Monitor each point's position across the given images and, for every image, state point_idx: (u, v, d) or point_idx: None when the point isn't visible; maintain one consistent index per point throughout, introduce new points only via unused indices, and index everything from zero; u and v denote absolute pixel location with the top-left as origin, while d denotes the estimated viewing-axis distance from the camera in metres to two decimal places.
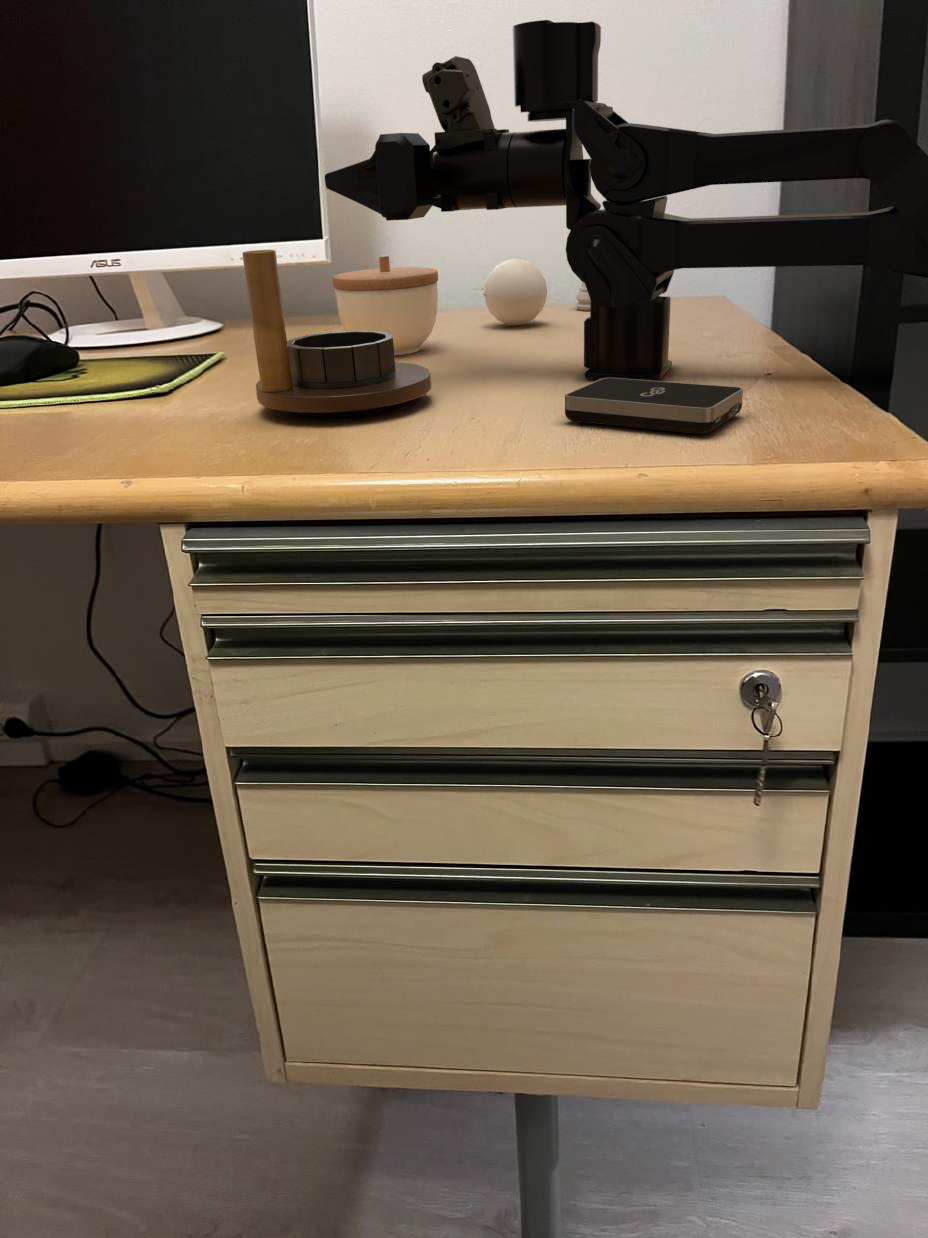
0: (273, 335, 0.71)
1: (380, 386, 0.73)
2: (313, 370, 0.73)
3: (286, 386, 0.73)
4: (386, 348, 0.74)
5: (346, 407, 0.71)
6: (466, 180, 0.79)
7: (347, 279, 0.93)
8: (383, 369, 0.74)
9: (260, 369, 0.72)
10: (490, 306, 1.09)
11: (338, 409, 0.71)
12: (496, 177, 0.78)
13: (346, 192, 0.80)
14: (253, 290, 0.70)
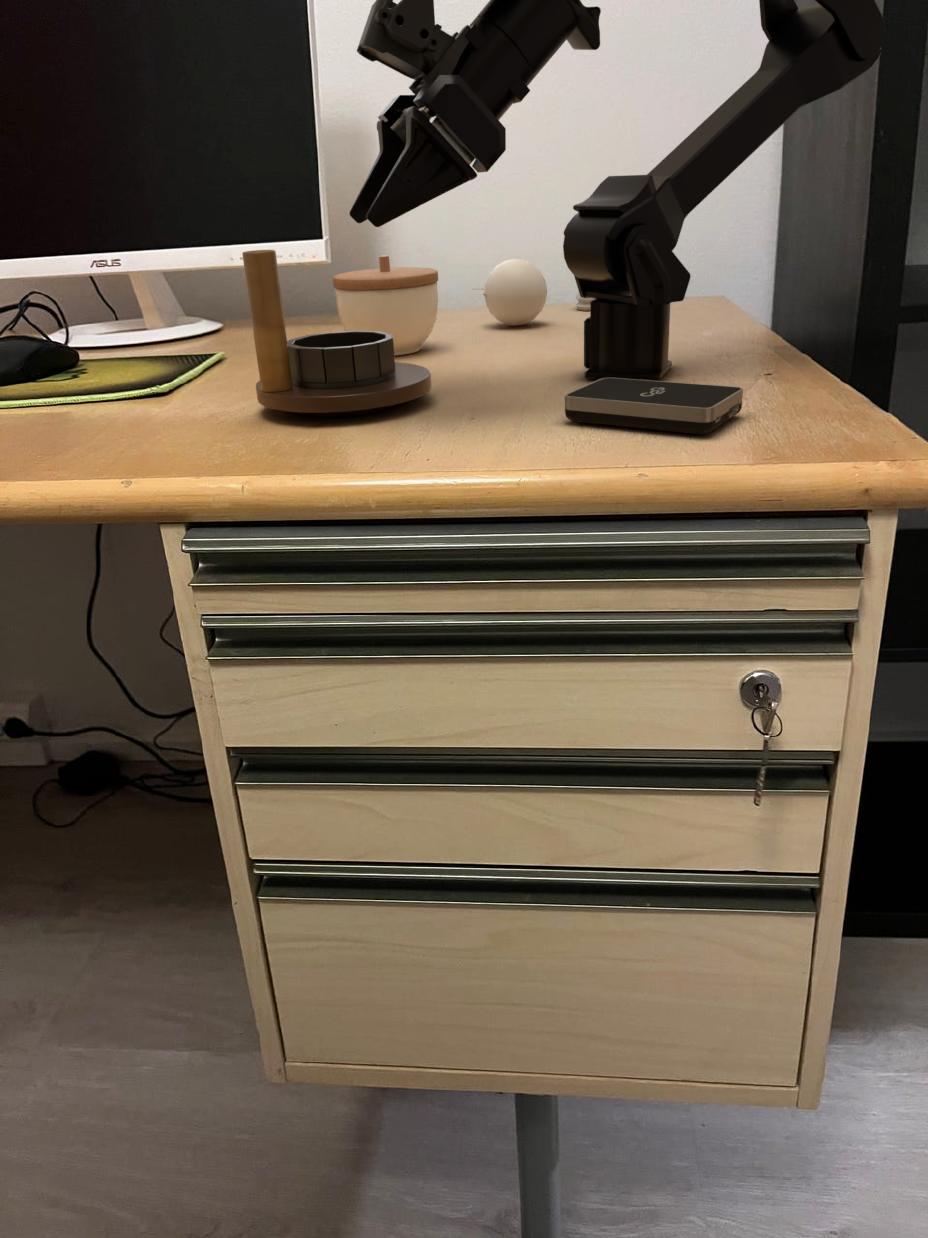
0: (273, 335, 0.71)
1: (380, 386, 0.73)
2: (313, 370, 0.73)
3: (286, 386, 0.73)
4: (386, 348, 0.74)
5: (346, 407, 0.71)
6: (485, 93, 0.67)
7: (347, 279, 0.93)
8: (383, 369, 0.74)
9: (260, 369, 0.72)
10: (490, 306, 1.09)
11: (338, 409, 0.71)
12: (510, 61, 0.67)
13: (404, 207, 0.66)
14: (253, 290, 0.70)
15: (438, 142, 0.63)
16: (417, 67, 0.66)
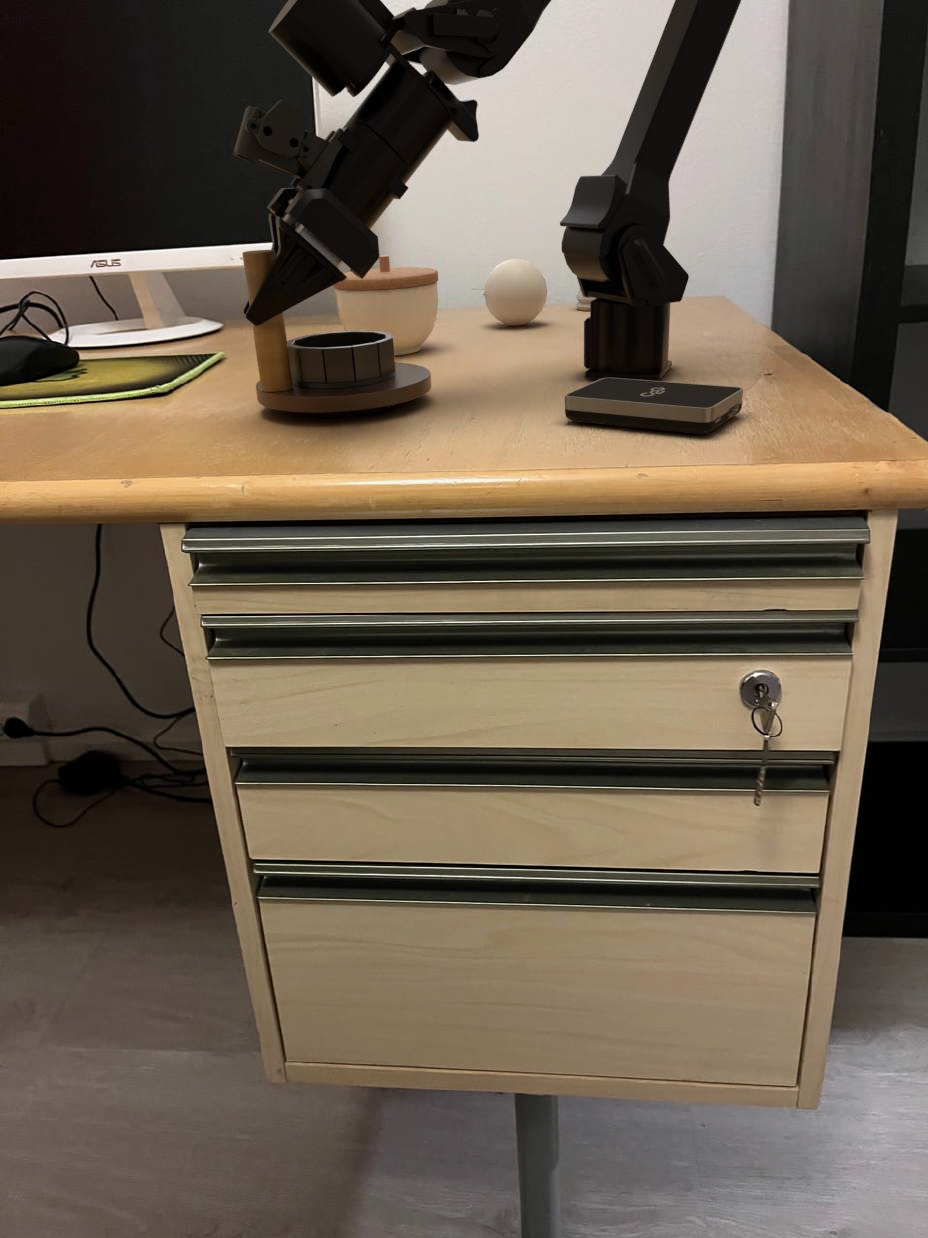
0: (273, 335, 0.71)
1: (380, 386, 0.73)
2: (313, 370, 0.73)
3: (286, 386, 0.73)
4: (386, 348, 0.74)
5: (346, 407, 0.71)
6: (362, 193, 0.67)
7: (347, 279, 0.93)
8: (383, 369, 0.74)
9: (260, 369, 0.72)
10: (490, 306, 1.09)
11: (338, 409, 0.71)
12: (385, 161, 0.67)
13: (281, 306, 0.69)
14: (253, 290, 0.70)
15: (306, 249, 0.66)
16: (291, 172, 0.66)
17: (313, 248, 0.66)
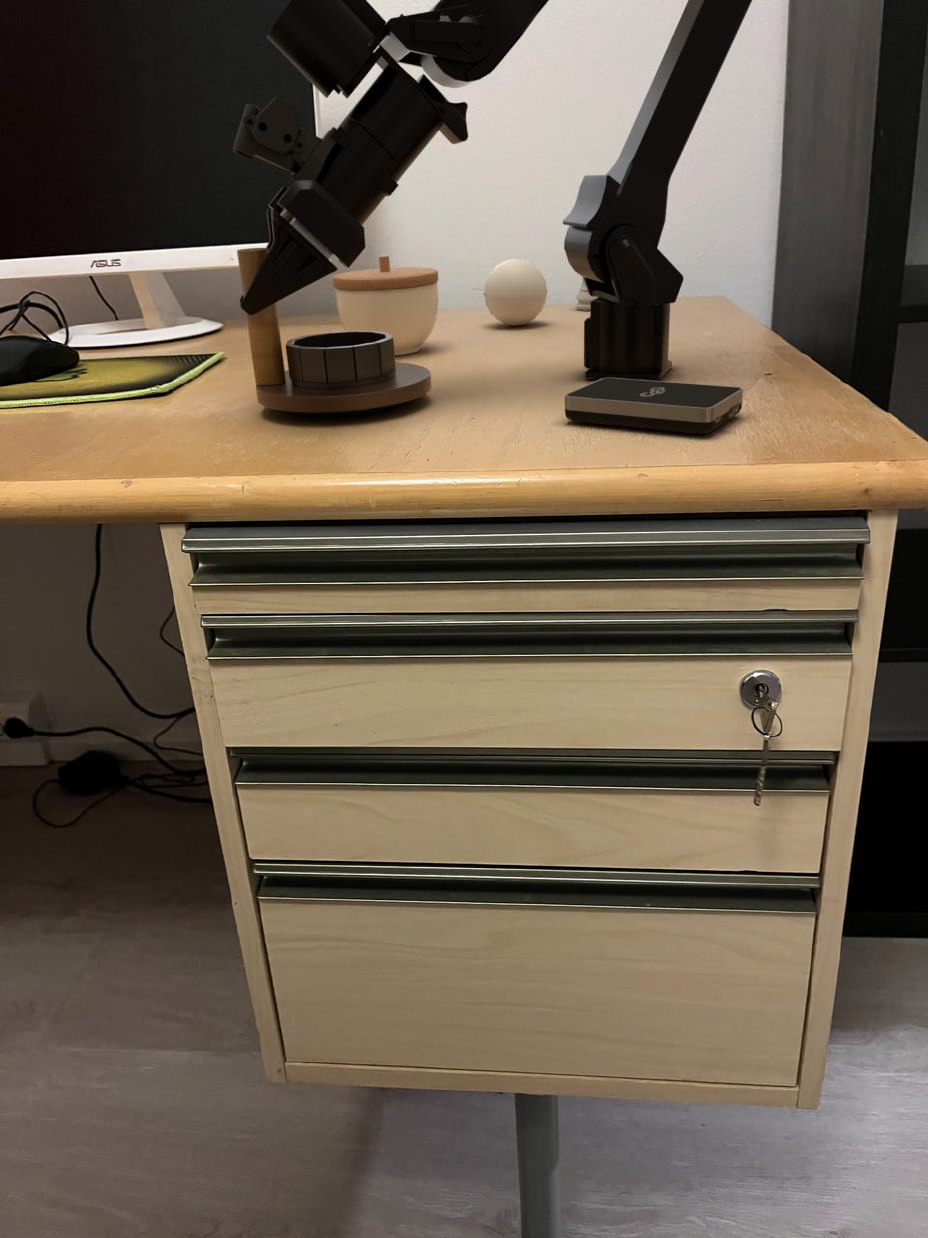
0: (259, 330, 0.73)
1: (346, 391, 0.72)
2: (294, 368, 0.74)
3: (273, 381, 0.75)
4: (367, 353, 0.72)
5: (301, 408, 0.71)
6: (354, 189, 0.70)
7: (347, 279, 0.93)
8: (361, 374, 0.73)
9: None
10: (489, 306, 1.09)
11: (294, 409, 0.71)
12: (376, 159, 0.70)
13: (274, 297, 0.72)
14: (243, 286, 0.73)
15: (298, 240, 0.68)
16: (286, 167, 0.69)
17: (305, 239, 0.68)
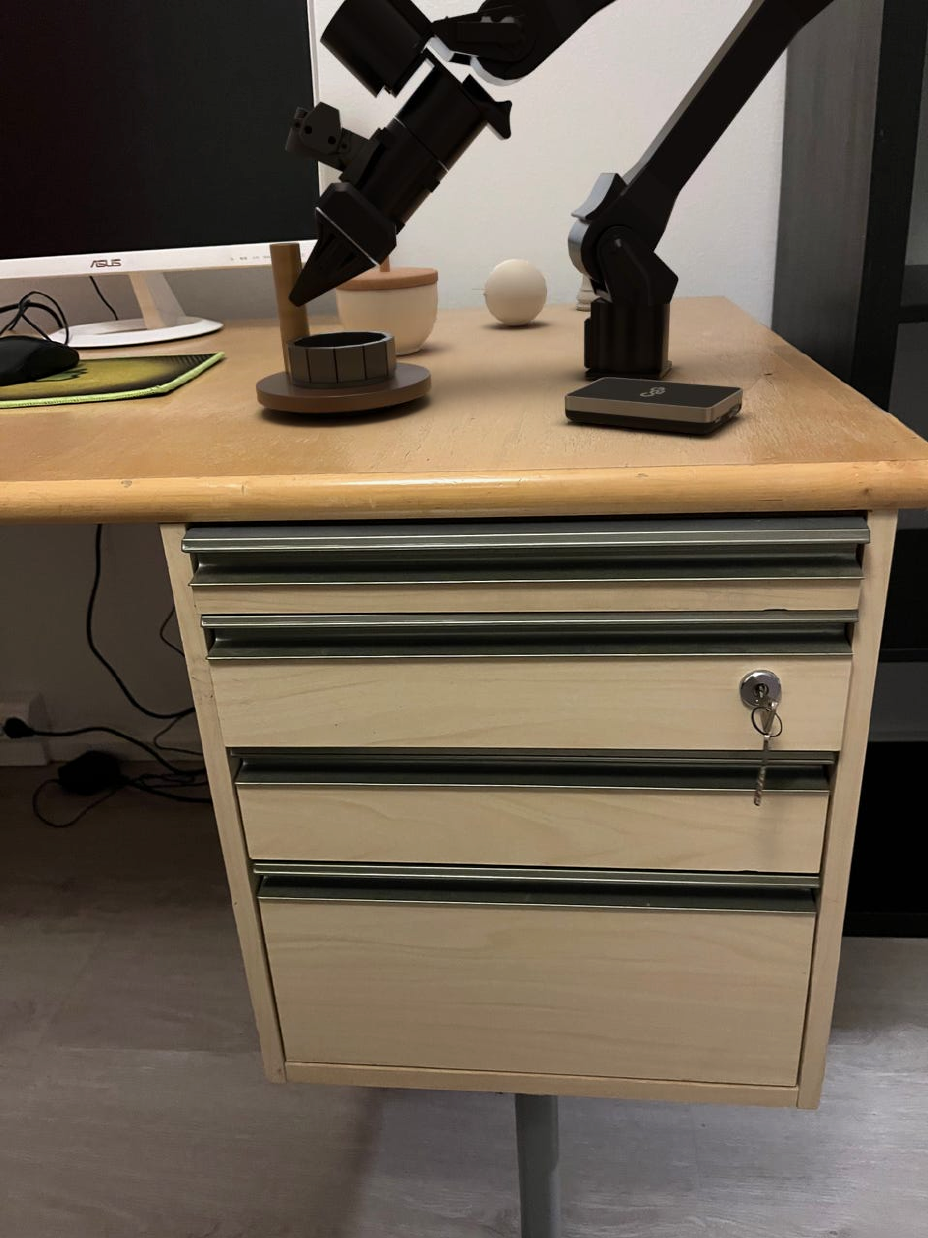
0: (280, 320, 0.78)
1: (291, 390, 0.73)
2: None
3: None
4: (321, 356, 0.72)
5: (258, 399, 0.75)
6: (396, 187, 0.73)
7: None
8: (314, 376, 0.73)
9: None
10: (489, 306, 1.09)
11: (257, 398, 0.76)
12: (418, 158, 0.73)
13: (319, 290, 0.76)
14: None
15: (338, 238, 0.72)
16: (333, 167, 0.73)
17: (344, 237, 0.72)
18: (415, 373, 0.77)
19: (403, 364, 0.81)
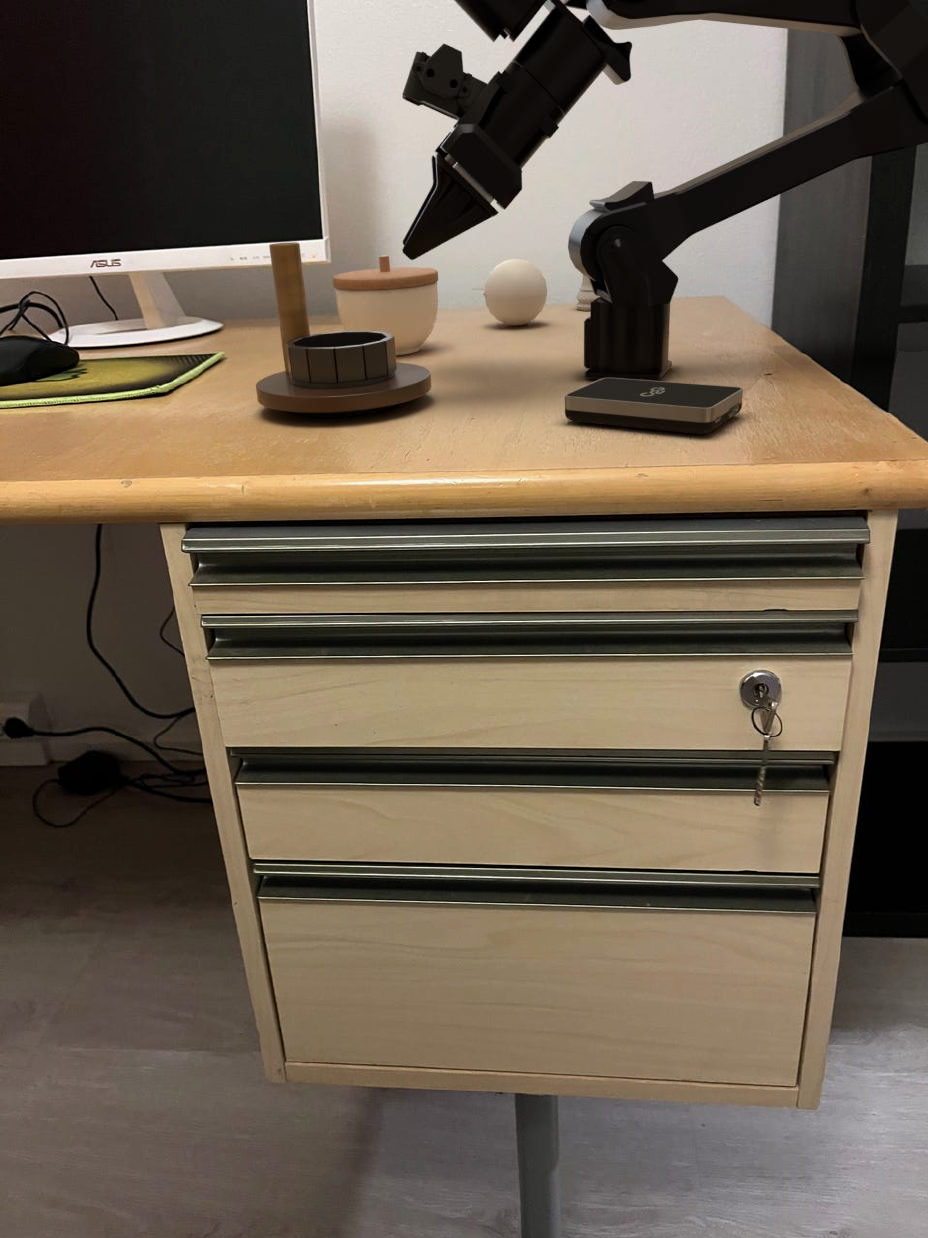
0: (280, 320, 0.78)
1: (291, 390, 0.73)
2: None
3: None
4: (321, 356, 0.72)
5: (258, 399, 0.75)
6: (515, 132, 0.72)
7: (347, 279, 0.93)
8: (314, 376, 0.73)
9: None
10: (490, 306, 1.09)
11: (257, 398, 0.76)
12: (538, 101, 0.72)
13: (435, 241, 0.73)
14: None
15: (460, 184, 0.69)
16: (451, 112, 0.72)
17: (467, 183, 0.69)
18: (415, 373, 0.77)
19: (403, 364, 0.81)
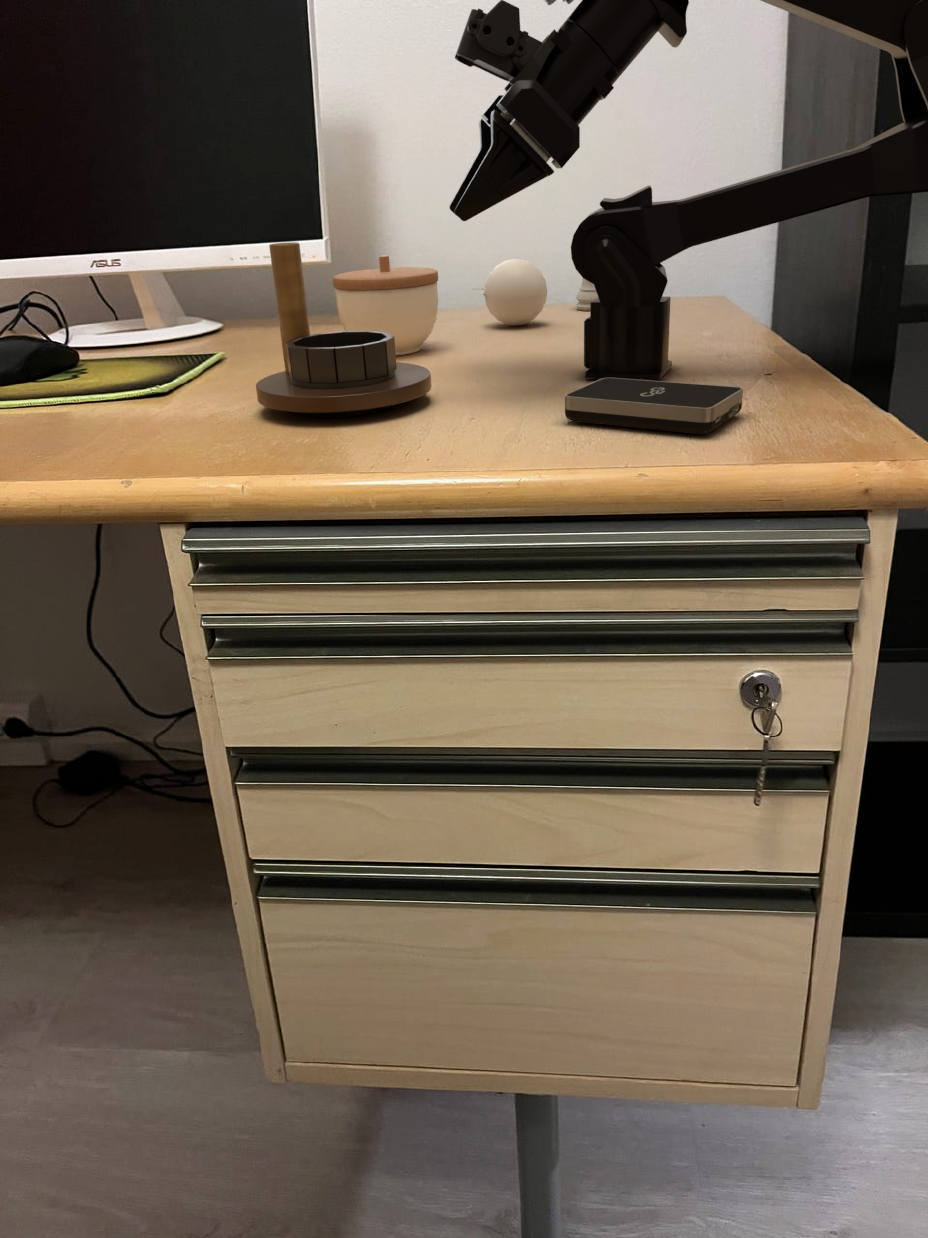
0: (280, 320, 0.78)
1: (291, 390, 0.73)
2: None
3: None
4: (321, 356, 0.72)
5: (258, 399, 0.75)
6: (570, 92, 0.72)
7: (347, 279, 0.93)
8: (314, 376, 0.73)
9: None
10: (490, 306, 1.09)
11: (257, 398, 0.76)
12: (594, 61, 0.71)
13: (488, 202, 0.72)
14: None
15: (517, 142, 0.68)
16: (506, 71, 0.71)
17: (524, 141, 0.68)
18: (415, 373, 0.77)
19: (403, 364, 0.81)
